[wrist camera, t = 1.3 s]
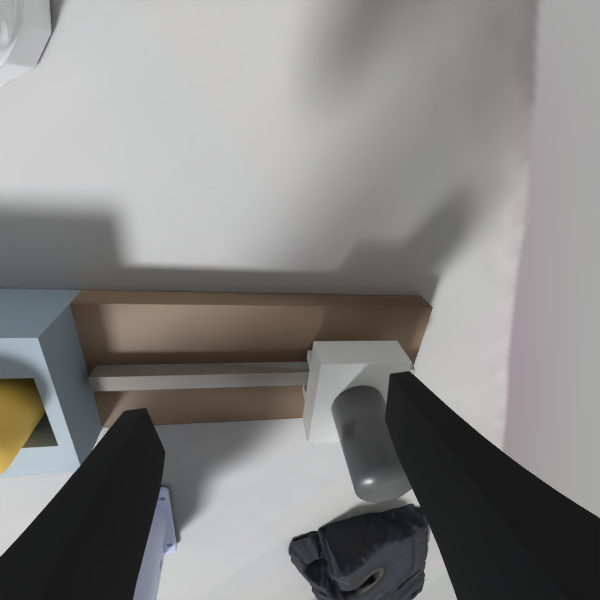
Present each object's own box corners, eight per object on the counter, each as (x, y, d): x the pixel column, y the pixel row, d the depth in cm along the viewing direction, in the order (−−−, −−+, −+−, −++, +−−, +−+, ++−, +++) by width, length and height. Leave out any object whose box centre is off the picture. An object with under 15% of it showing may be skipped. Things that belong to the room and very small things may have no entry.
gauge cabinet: (110, 409, 22) (82, 472, 18) (8, 413, 21) (-45, 480, 17) (82, 289, 18) (37, 337, 14) (-48, 287, 17) (-135, 338, 13)
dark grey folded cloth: (317, 610, 45) (324, 661, 40) (282, 529, 34) (287, 587, 29) (426, 580, 45) (444, 627, 41) (426, 490, 34) (452, 542, 30)
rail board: (389, 398, 26) (403, 424, 24) (110, 409, 22) (96, 441, 20) (421, 296, 22) (441, 316, 19) (82, 289, 18) (60, 313, 16)
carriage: (371, 402, 23) (421, 515, 17) (300, 405, 22) (323, 525, 16) (390, 330, 20) (460, 432, 14) (310, 331, 19) (344, 439, 13)
